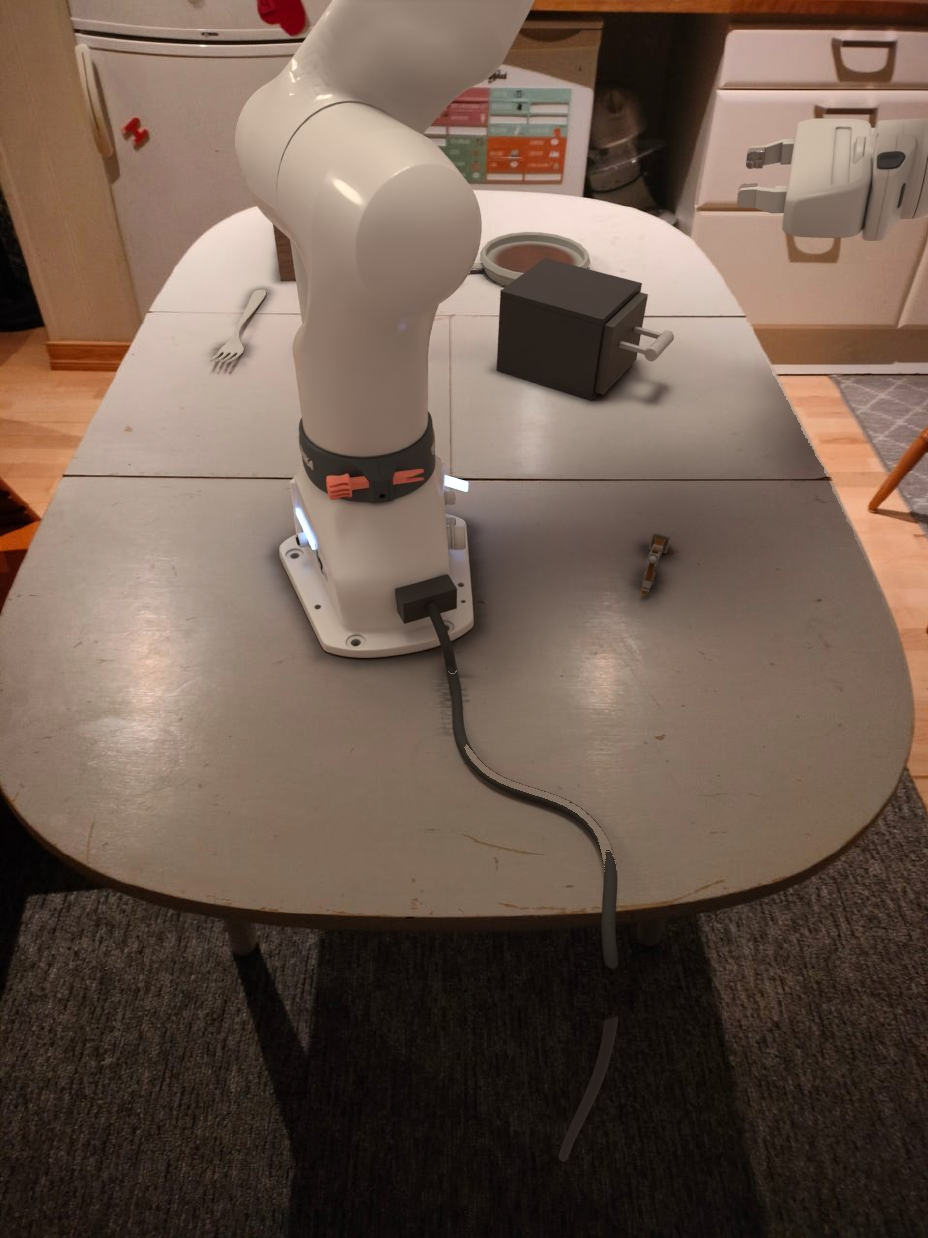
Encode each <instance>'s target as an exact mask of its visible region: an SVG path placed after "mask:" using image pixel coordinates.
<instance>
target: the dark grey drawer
mask: <svg viewBox="0 0 928 1238" xmlns="http://www.w3.org/2000/svg"><path fill="white" fill-rule="evenodd" d="M648 298H649V294H648V293H645V292H642V291H641V292H639V293H638V294H637V295H636V296H635V297H633V298H632V299H631V300H630V301H629V302H628V303H627V304H626V305H623V306H622V307H621V308H620V309H619V310H618V311H617V312H616V313H615V314H614V315H613V316H612V317H611V318H610V319H609V320H608V321H606V322H605V325H604V332H603V339H602V346H601V352H600V359H599V366H598V373H597V380H596V387H595V392H596V393H598V395H605V394H606V393H607V392H608V391H609V390H610V389H611V388H612V386H614V385H615V383H616V382H617V381H618V380H619V379H620V378H621V377H622V375H624V374H625V373H626V372H627V370H629V369H630V367H631V366H633V364H634V363H635V362H636V361H637V359H638V354H641V355H644V358H645V359H646V360H647V361H648V362H654V361H656V360H657V359H658V358H659V357H660V355H662V354H663V352H664V351H665V350H667V348H668V347H669V346H670V345H671V344H672V342H674V340H675V335H674V333H673V332H672V331H671V330H664V331H663V332H659V331H655V330H652V329H647V328H644V327H643V326H644V319H645V314H646V308H647V302H648ZM641 336H644V337H648V338H652V339H655V340H654V341H653V342H652V343H651V344H650V345H649V346H648V348H647V347H644V346H641V345H640V342H641Z"/></svg>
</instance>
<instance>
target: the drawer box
mask: <svg viewBox="0 0 928 1238" xmlns="http://www.w3.org/2000/svg"><path fill="white" fill-rule="evenodd" d="M642 285H643V283H642V282H640V281H636V280H632V279H628V278H625V277H620V276H617V275H612V274H609V273H605V272H602V271H598V270H594V269H590V268H587V269H586V268H582V267H578V266H574V265H570V264H567V263H563V262H559V261H555V260H551V259H547V258H543V259H542V260H541V261H539V262H538V263H537V264H535V265H534V266H533V267H531V268H530V269H529V270H527V271H526V272H525V273H523V274H522V275H521V276H519V277H518V278H517V279H515V280H514V281H513V282H511V283H510V284H509V285H507V286H505V287H504V288H502V289H501V290H500V293H499V312H498V313H499V314H498V330H497V332H498V333H497V351H496V371H497V372H500V373H503V374H507V375H511V376H513V377H516V378H519V379H522V380H525V381H528V382H532V383H535V384H538V385H540V386H541V385H542V386H545V387H547V388H551V389H554V390H557V391H560V392H564V393H566V394H569V395H573V396H576V397H579V398H582V399H585V400H588V401H593V399H595V397H596V396H598V395H599V393H596V392H595V387H596V380H597V373H598V366H599V359H600V352H601V346H602V339H603V332H604V325H605V322H606V321H608V320H609V319H610V318H611V317H612V316H613V315H614V314H615V313H616V312H617V311H618V310H619V309H620V308H621V307H622V306H623V305H626V304H627V303H628V302H629V301H630V300H631V299H632V298H633V297H635V296H636V295H637V294H638V293H639V292H641V293H642V287H643V286H642Z"/></svg>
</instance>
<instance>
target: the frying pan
mask: <svg viewBox="0 0 928 1238" xmlns="http://www.w3.org/2000/svg"><path fill="white" fill-rule="evenodd" d="M543 258H547V259H551V260H555V261H559V262H563V263H567V264H570V265H574V266H578V267H582V268H586V269H588V268H589V265H590V264H591V260H590V255H589V253H588V250H587V249H586V248H585V247H584V246H583V245H582V244H581V243H579V242H577V241H575V240H573V239H572V238H569V237H566V236H563V235H559V234H555V233H549V232H543V231H542V232H541V231H520V232H512V233H507V234H502V235H499V236H496V237H494V238H492V239H490V240H489V241H487V243H485V245H484V246H483V247H482V249H481V250H480V252H479V260H480V262H474V264H473V267H472V269H471V270H482V269H484V272H485V274H486V275H487V277H488V278H489V279H490V280H492V281H494V282H495V283H497V284H499V285H502V286H505V287H506V286H507V285H509V284H510V283H511V282H513V281H514V280H515V279H517V278H518V277H519V276H521V275H522V274H523V273H525V272H526V271H527V270H529V269H530V268H531V267H533V266H534V265H535V264H537V263H538V262H539V261H541V260H542V259H543Z"/></svg>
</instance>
